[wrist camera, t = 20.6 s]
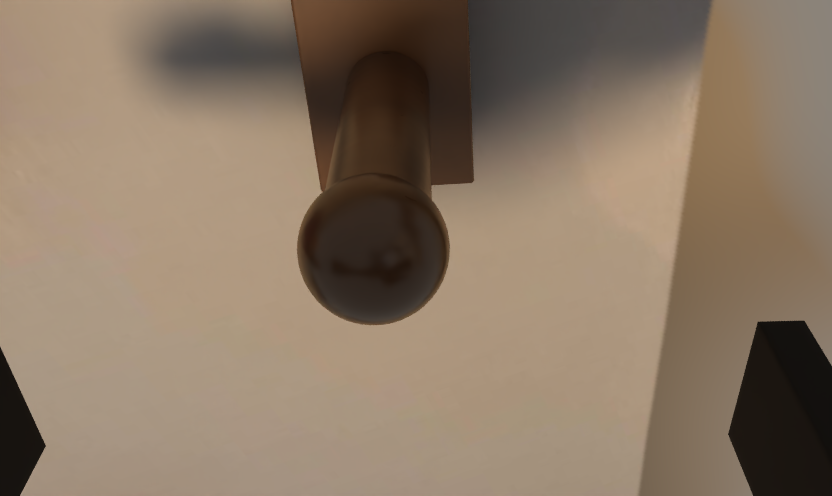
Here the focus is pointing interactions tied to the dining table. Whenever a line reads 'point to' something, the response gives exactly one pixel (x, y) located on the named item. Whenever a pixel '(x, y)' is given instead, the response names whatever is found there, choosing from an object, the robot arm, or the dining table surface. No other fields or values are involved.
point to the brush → (382, 149)
